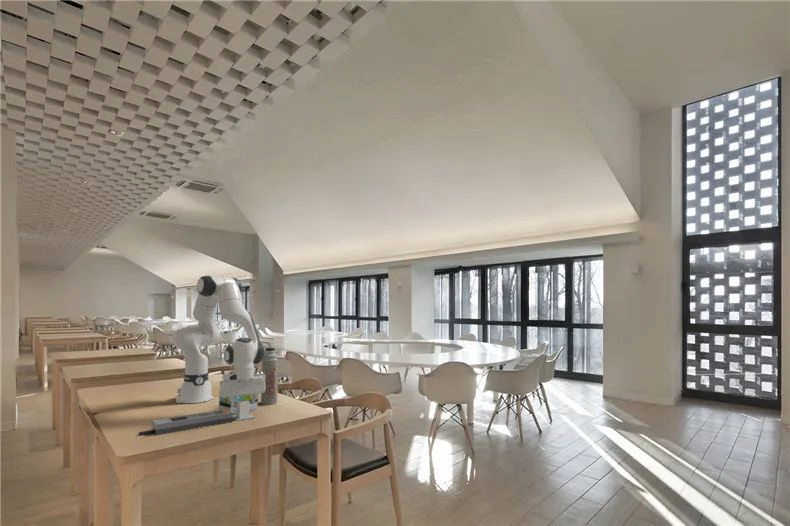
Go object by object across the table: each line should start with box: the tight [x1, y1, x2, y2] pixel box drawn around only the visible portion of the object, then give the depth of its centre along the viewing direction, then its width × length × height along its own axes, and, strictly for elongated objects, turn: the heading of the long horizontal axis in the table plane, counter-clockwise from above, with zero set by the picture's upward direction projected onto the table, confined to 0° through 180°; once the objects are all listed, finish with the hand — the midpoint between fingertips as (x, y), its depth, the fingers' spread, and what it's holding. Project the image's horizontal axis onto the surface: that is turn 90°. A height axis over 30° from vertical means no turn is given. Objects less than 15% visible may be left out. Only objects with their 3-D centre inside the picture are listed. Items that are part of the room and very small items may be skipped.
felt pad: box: [233, 413, 256, 422], centre depth 205 cm, size 8×8×1 cm
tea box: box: [218, 380, 259, 415], centre depth 218 cm, size 15×10×15 cm
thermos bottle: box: [260, 347, 279, 406], centre depth 234 cm, size 8×8×28 cm
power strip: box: [138, 409, 234, 436], centre depth 190 cm, size 8×36×5 cm, turn 129°
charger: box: [235, 400, 250, 419], centre depth 205 cm, size 4×4×7 cm
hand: (243, 405), depth 205 cm, fingers open, 8 cm apart
